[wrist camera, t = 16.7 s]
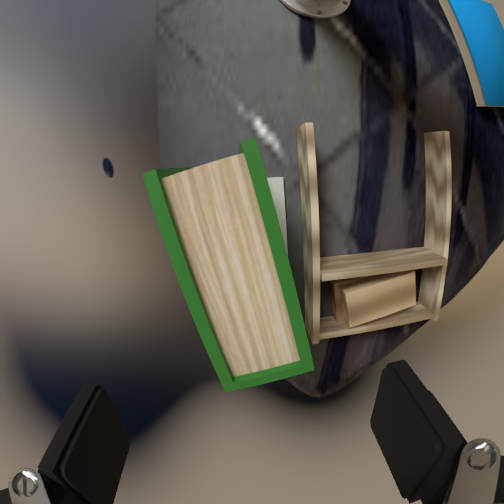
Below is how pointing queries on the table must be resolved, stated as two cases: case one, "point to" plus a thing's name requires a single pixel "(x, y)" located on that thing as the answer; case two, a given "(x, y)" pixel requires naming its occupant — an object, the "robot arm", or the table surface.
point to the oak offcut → (377, 296)
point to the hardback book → (233, 267)
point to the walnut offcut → (339, 296)
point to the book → (479, 47)
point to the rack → (382, 262)
